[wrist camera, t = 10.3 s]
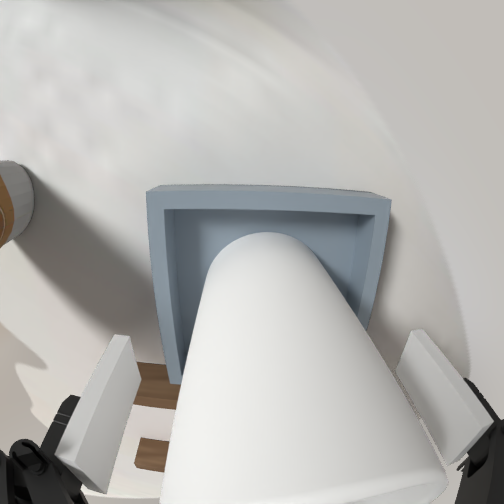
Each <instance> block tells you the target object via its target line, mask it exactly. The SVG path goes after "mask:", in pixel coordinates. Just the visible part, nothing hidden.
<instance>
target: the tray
mask: <svg viewBox="0 0 504 504" xmlns="http://www.w3.org/2000/svg"><path fill="white" fill-rule="evenodd" d="M391 201H392V200H391V199H388V198H386V197H383V196H380V195H377V194H375V193H372V192H364V191H353V190H341V189H327V188H312V187H294V186H270V185H222V184H201V185H160V186H158V187H155V188H153V189H151V190H149V191H146V203H147V221H148V235H149V248H150V258H151V268H152V277H153V286H154V294H155V301H156V308H157V315H158V322H159V328H160V334H161V340H162V345H163V351H164V356H165V361H166V366H167V371H168V376H169V381H170V384H179V385H181V383H182V378H183V374H184V369H185V365H186V360H187V356H188V351H189V347H190V342H191V338H192V334H193V329H194V325H195V321H196V317H197V313H198V309H199V304H200V300H201V296H202V292H203V288H204V284H205V280H206V276H207V273H208V270H209V268H210V266H211V264H212V262H213V260H214V259H215V257H216V256H217V255H218V254H219V253H220V251H221V250H222V249H224V248H225V247H226V246H227V245H229V244H230V243H231V242H233V241H235V240H237V239H239V238H241V237H243V236H246V235H249V234H253V233H260V232H275V233H281V234H285V235H288V236H291V237H293V238H295V239H297V240H299V241H301V242H302V243H304V244H305V245H306V246H307V247H308V248H309V249H310V250H311V251H312V252H313V253H314V254H315V256H316V257H317V258H318V260H319V261H320V263H321V264H322V266H323V267H324V269H325V270H326V272H327V273H328V274H329V276H330V277H331V279H332V280H333V282H334V283H335V285H336V286H337V288H338V289H339V291H340V292H341V294H342V295H343V297H344V298H345V300H346V301H347V303H348V304H349V306H350V307H351V309H352V310H353V312H354V314H355V315H356V317H357V318H358V320H359V321H360V323H361V324H362V326H363V328H364V329H365V331H367V327H368V323H369V319H370V315H371V311H372V307H373V303H374V299H375V295H376V290H377V286H378V281H379V276H380V271H381V266H382V261H383V255H384V249H385V244H386V237H387V231H388V224H389V217H390V209H391Z"/></svg>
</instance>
